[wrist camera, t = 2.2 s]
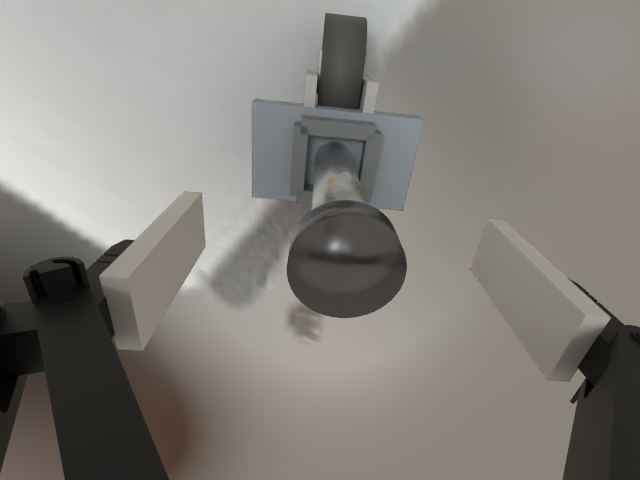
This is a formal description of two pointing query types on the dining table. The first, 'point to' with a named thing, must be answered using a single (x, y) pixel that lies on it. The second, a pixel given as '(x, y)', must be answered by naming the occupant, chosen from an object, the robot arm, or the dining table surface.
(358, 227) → the pin
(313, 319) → the dining table surface
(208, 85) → the dining table surface
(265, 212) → the dining table surface
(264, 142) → the cart
